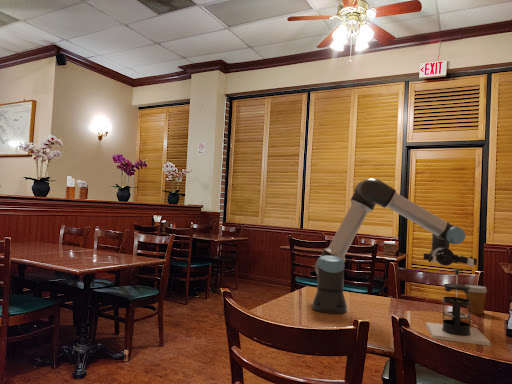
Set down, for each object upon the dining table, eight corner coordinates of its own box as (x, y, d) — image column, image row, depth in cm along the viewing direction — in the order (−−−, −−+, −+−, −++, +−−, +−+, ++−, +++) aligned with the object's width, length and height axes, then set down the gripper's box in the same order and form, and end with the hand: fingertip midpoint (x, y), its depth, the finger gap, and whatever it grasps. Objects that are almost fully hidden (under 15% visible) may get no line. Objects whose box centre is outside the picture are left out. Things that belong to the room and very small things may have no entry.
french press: (472, 338, 135) (473, 272, 137) (442, 333, 139) (443, 269, 140) (468, 329, 146) (469, 268, 148) (441, 325, 150) (442, 266, 151)
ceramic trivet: (433, 338, 137) (433, 335, 137) (426, 325, 154) (426, 322, 154) (490, 345, 132) (490, 342, 132) (476, 331, 149) (476, 328, 149)
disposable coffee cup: (491, 314, 178) (492, 288, 178) (475, 315, 175) (475, 288, 176) (474, 309, 187) (475, 284, 188) (458, 309, 184) (459, 284, 185)
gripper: (474, 267, 170) (488, 274, 150) (413, 261, 177) (419, 266, 157) (475, 250, 171) (489, 254, 150) (414, 245, 178) (420, 248, 157)
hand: (453, 260), depth 154 cm, fingers open, 13 cm apart
